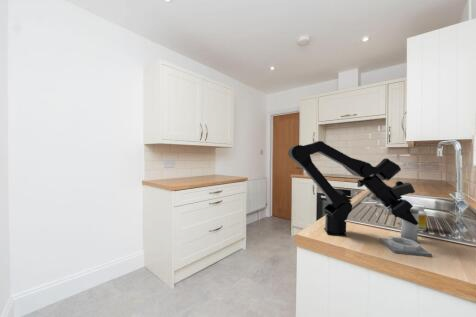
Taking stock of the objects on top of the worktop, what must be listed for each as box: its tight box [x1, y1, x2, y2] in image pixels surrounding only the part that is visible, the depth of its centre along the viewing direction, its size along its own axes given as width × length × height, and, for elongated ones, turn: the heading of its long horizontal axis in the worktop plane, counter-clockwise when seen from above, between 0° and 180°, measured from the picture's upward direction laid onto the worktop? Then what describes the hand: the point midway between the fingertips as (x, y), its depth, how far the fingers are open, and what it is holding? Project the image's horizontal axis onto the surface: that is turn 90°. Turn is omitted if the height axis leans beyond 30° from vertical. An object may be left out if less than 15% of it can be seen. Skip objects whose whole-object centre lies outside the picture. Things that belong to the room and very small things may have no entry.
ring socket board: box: [378, 236, 433, 258], centre depth 68 cm, size 10×10×2 cm
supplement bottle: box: [412, 204, 428, 232], centre depth 87 cm, size 5×5×10 cm
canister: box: [400, 208, 419, 243], centre depth 75 cm, size 5×5×11 cm
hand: (414, 222), depth 74 cm, fingers open, 5 cm apart
